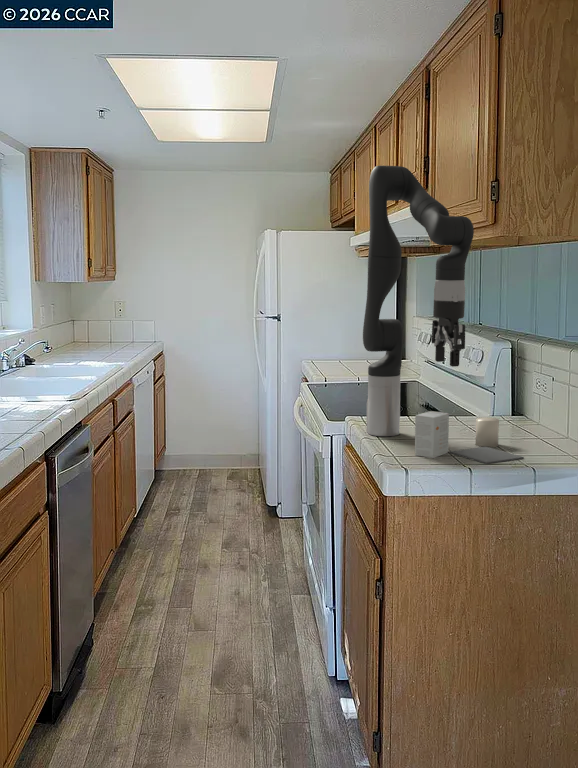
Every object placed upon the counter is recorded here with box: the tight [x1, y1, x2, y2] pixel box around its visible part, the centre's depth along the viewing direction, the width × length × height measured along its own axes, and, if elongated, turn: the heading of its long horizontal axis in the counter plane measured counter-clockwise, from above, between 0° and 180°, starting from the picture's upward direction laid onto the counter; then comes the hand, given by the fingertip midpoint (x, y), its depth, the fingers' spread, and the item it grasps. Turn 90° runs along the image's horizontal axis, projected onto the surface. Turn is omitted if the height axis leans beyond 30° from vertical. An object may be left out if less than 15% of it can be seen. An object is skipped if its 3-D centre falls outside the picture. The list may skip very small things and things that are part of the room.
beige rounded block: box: [474, 417, 500, 448], centre depth 210 cm, size 6×6×7 cm
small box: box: [414, 410, 450, 459], centre depth 199 cm, size 8×6×10 cm
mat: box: [449, 446, 524, 465], centre depth 197 cm, size 14×12×1 cm
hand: (446, 363), depth 194 cm, fingers open, 8 cm apart
